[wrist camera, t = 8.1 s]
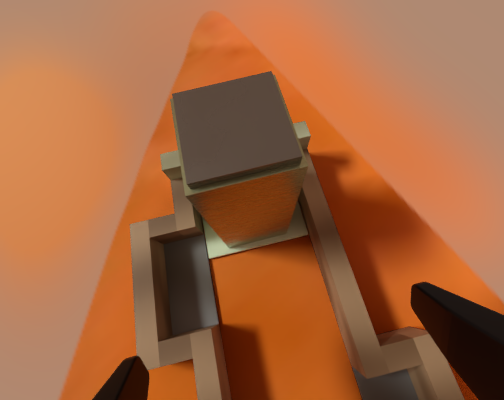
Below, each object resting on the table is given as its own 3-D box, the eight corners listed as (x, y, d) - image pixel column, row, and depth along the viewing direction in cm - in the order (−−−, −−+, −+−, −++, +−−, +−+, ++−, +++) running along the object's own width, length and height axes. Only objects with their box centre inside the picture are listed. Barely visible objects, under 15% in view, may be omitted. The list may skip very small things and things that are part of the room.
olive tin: (286, 233, 18) (310, 160, 8) (229, 248, 17) (181, 191, 8) (271, 181, 19) (274, 66, 9) (217, 194, 19) (166, 91, 9)
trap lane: (485, 509, 12) (579, 602, 9) (175, 596, 12) (133, 735, 8) (333, 144, 20) (348, 110, 17) (143, 189, 20) (115, 164, 16)
